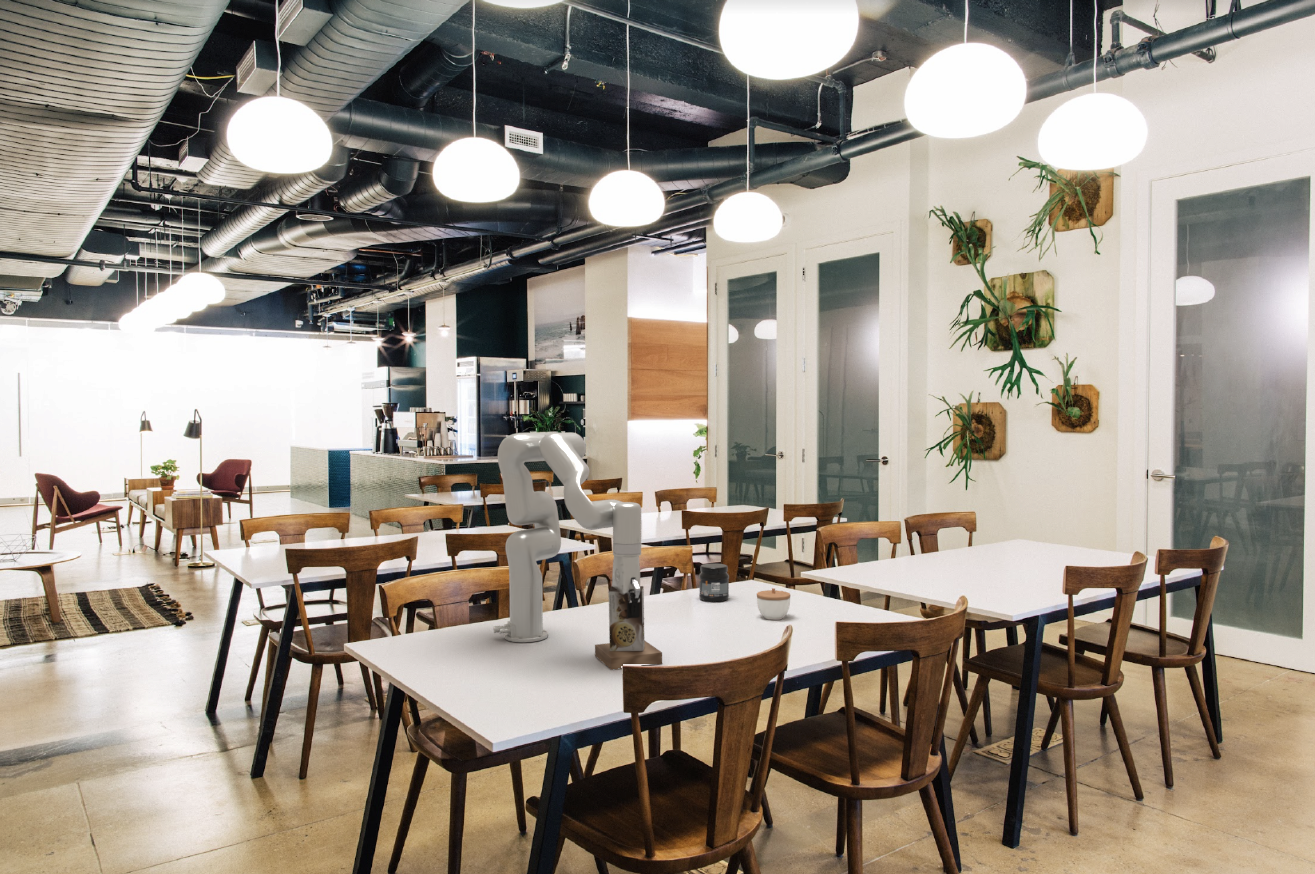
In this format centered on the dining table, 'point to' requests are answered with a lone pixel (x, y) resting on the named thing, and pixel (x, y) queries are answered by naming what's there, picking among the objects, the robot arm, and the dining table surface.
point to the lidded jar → (773, 603)
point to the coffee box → (625, 623)
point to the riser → (627, 656)
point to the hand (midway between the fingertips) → (627, 613)
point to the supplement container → (714, 583)
